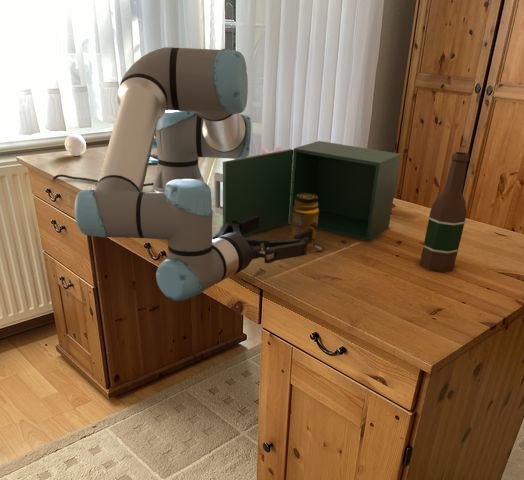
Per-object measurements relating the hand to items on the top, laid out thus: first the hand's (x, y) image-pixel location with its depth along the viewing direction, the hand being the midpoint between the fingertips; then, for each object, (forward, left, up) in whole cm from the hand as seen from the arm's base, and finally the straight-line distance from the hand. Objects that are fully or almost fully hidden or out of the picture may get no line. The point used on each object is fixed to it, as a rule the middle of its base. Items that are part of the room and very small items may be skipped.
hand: (283, 228), depth 117 cm
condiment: (+5, +6, -7) cm, 10 cm away
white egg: (-69, +92, -7) cm, 115 cm away
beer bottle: (+34, -3, -7) cm, 35 cm away
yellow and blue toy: (-48, +96, -7) cm, 108 cm away
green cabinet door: (-7, +18, -6) cm, 20 cm away
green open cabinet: (+16, +23, -7) cm, 29 cm away
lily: (-1, +69, -7) cm, 70 cm away
